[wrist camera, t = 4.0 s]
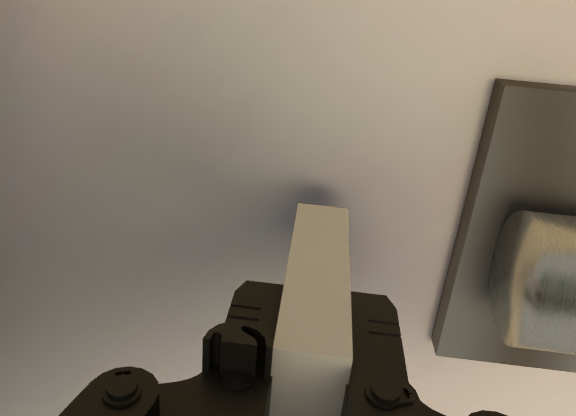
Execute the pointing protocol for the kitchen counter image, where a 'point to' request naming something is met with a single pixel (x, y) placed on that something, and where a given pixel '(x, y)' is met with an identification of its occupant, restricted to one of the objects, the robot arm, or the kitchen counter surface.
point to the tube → (535, 282)
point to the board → (507, 213)
